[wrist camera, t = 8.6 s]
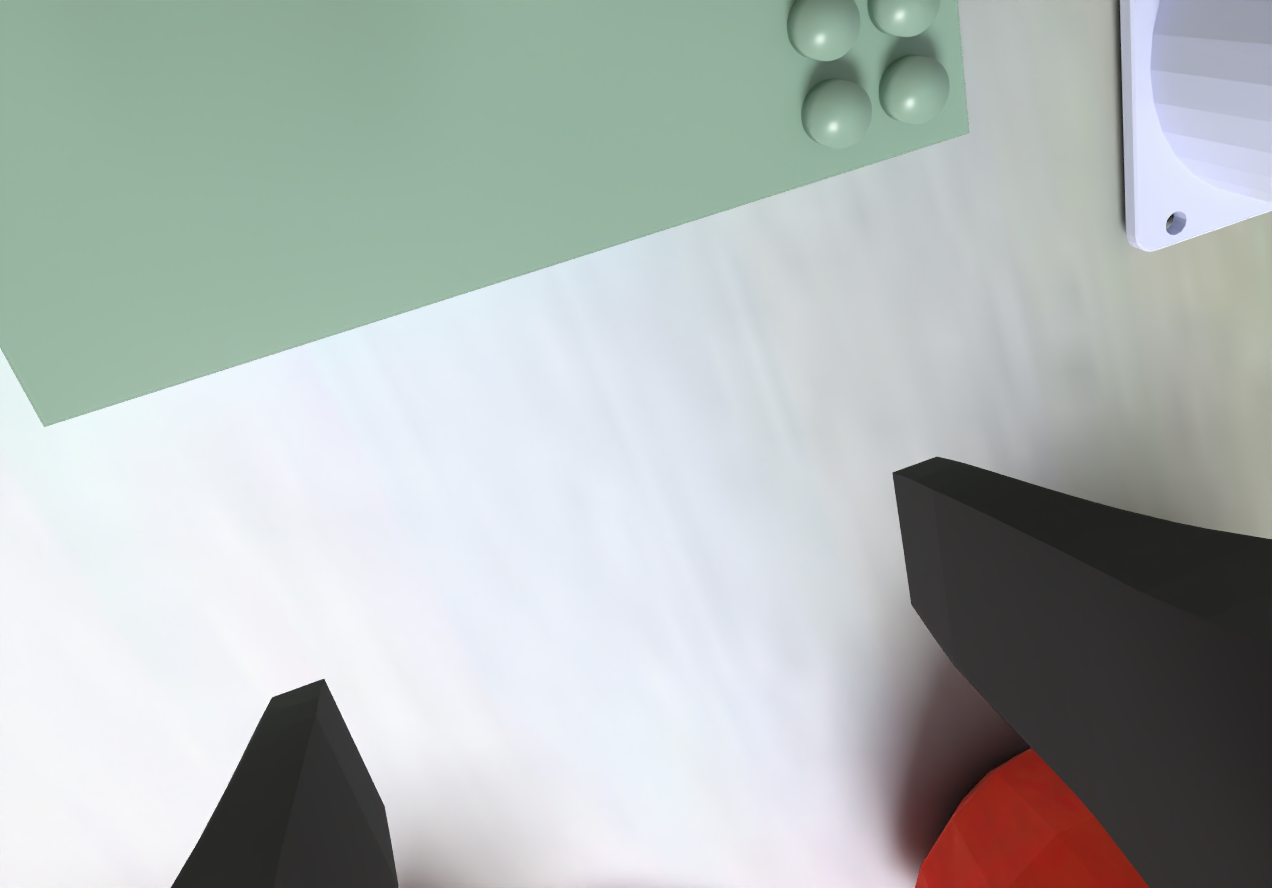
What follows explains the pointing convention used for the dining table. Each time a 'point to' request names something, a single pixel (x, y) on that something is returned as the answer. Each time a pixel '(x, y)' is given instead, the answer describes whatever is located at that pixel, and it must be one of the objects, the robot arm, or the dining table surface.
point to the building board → (399, 155)
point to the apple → (1025, 836)
